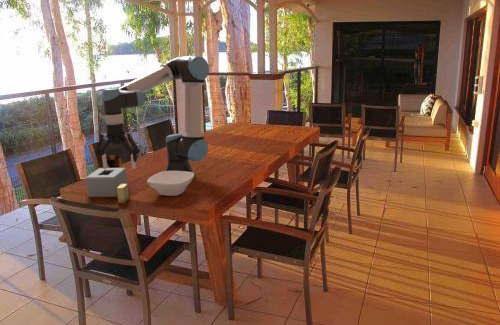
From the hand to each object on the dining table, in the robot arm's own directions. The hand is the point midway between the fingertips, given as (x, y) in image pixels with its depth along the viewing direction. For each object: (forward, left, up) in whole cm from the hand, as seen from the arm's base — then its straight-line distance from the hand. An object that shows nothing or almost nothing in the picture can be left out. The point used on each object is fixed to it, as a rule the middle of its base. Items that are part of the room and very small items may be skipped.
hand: (119, 168), depth 204 cm
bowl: (-21, -10, -16) cm, 29 cm away
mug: (+17, -35, -16) cm, 42 cm away
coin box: (+13, -14, -16) cm, 25 cm away
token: (0, 0, -16) cm, 16 cm away
